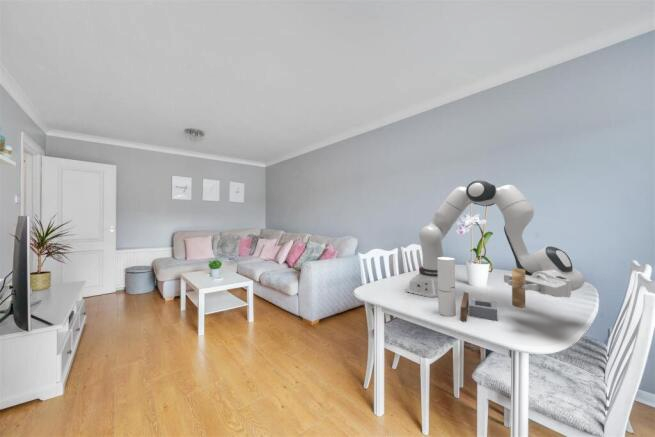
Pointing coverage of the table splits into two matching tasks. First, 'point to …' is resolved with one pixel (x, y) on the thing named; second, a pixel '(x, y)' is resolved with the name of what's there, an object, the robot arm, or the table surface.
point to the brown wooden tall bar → (518, 287)
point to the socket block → (483, 309)
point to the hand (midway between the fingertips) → (516, 285)
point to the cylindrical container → (446, 286)
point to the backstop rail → (464, 306)
